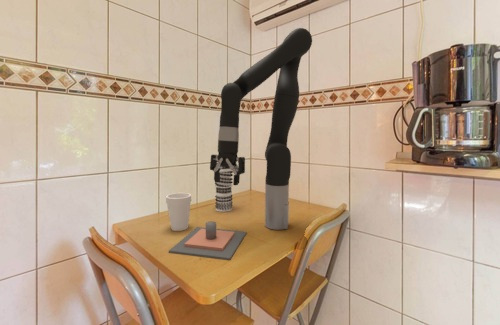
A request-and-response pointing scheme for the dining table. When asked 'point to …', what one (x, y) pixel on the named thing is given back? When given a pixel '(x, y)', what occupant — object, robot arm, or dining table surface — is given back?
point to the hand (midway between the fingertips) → (226, 183)
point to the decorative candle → (224, 190)
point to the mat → (224, 254)
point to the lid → (210, 238)
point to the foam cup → (179, 210)
